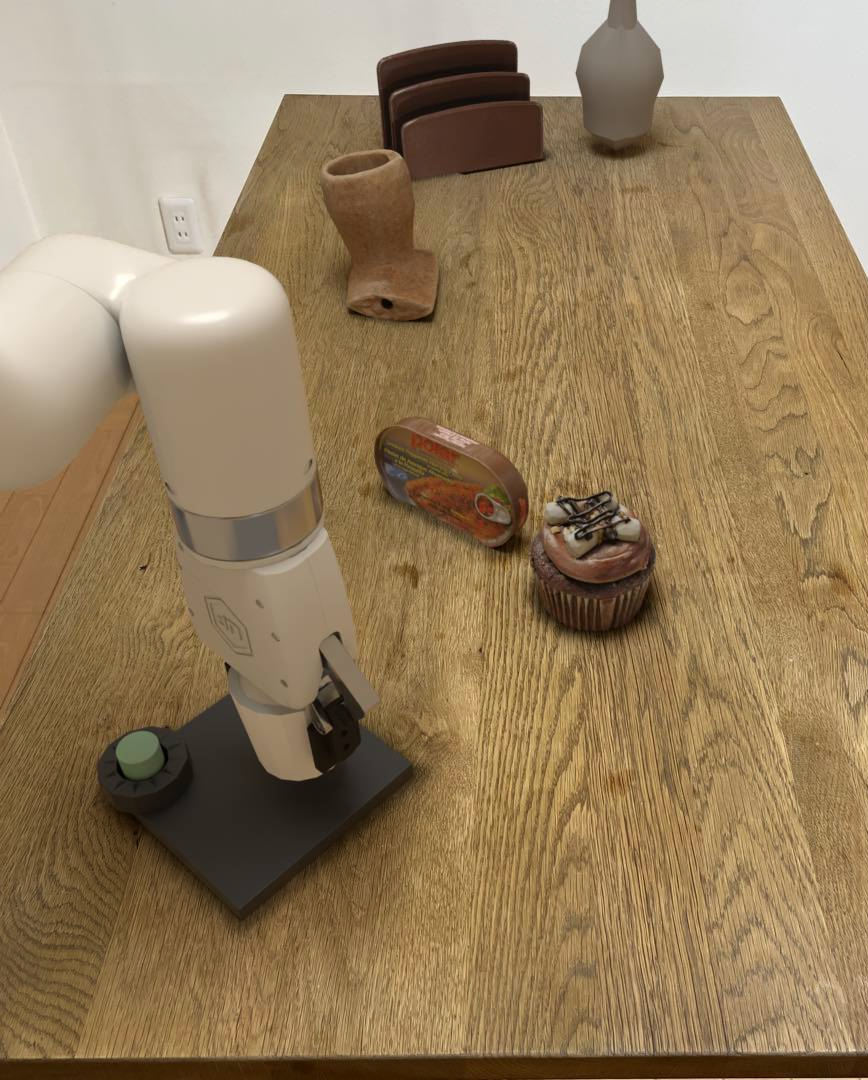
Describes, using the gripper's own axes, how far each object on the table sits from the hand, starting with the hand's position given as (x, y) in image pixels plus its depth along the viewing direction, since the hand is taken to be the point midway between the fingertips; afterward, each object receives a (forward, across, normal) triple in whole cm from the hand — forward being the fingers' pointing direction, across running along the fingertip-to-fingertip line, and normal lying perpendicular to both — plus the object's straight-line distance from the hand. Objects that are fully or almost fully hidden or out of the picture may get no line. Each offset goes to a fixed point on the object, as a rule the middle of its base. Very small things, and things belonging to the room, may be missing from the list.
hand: (297, 722), depth 68 cm
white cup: (+2, 0, 0) cm, 2 cm away
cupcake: (+7, +2, +26) cm, 27 cm away
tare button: (+4, -7, -7) cm, 11 cm away
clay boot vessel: (+7, -46, +49) cm, 67 cm away
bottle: (+7, -52, +98) cm, 111 cm away
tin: (+7, -12, +26) cm, 30 cm away
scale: (+7, -2, -2) cm, 7 cm away
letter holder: (+7, -65, +82) cm, 105 cm away
